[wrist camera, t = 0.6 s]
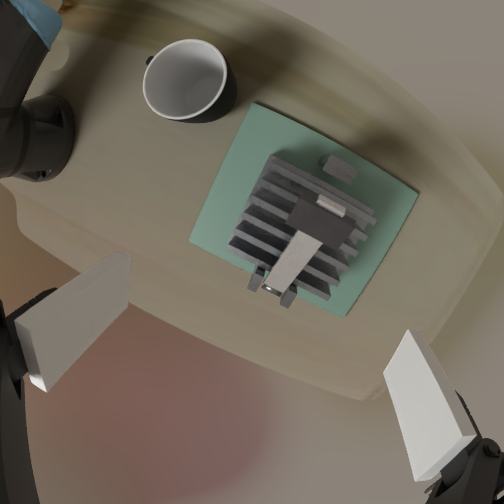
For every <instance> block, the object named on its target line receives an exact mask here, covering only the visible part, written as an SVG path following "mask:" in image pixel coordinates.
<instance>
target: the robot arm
mask: <svg viewBox="0 0 504 504" xmlns="http://www.w3.org/2000/svg"><path fill="white" fill-rule="evenodd" d="M61 27H62V18H61V16H60V15H59V14H58V13H57V12H56V11H55V10H54V9H52V8H51V7H49V6H48V5H46V4H45V3H43V2H42V1H40V0H0V179H1V178H5V177H11V176H13V177H16V178H20V179H24V180H27V181H31V182H42V181H47V180H50V179H52V178H54V177H55V176H57V175H58V174H59V173H60V172H61V171H62V169H63V168H64V166H65V165H66V163H67V161H68V159H69V156H70V153H71V150H72V146H73V141H74V131H75V127H74V118H73V114H72V111H71V108H70V106H69V105H68V103H67V102H66V101H65V100H64V99H63V98H61V97H58V96H53V95H42V96H38V97H35V98H32V99H29V100H26V101H23V100H24V97H25V95H26V93H27V91H28V89H29V87H30V85H31V82H32V81H33V79H34V77H35V75H36V73H37V71H38V69H39V67H40V65H41V63H42V62H43V60H44V58H45V56H46V55H47V53H48V52H49V51H50V50H51V45H52V43H53V42H54V40H55V38H56V36H57V35H58V33H59V31H60V30H61ZM130 259H131V255H129V254H125V253H122V252H119V251H116V252H114V253H113V254H111V255H109V256H108V257H106V258H105V259H103V260H101V261H100V262H98V263H97V264H95V265H94V266H92V267H90V268H89V269H87V270H86V271H84V272H83V273H81V274H80V275H78V276H77V277H75V278H74V279H72V280H71V281H69V282H68V283H66V284H65V285H63V286H62V287H60V288H59V289H57V288H52V289H49V290H46V291H43V292H42V293H40V294H39V295H37V296H36V297H35V298H33V299H31V300H30V301H28V303H26V304H24V305H23V306H21V307H20V308H18V309H17V310H15V311H14V312H13V313H11V314H10V315H8V316H7V317H5V313H4V308H3V303H2V301H1V300H0V504H40V502H39V498H38V494H37V490H36V485H35V481H34V475H33V470H32V465H31V459H30V453H29V444H28V436H27V427H26V413H25V393H24V380H23V376H24V374H26V373H27V372H28V373H29V376H30V379H31V381H32V383H33V384H34V385H36V386H38V387H39V388H41V389H42V390H44V391H45V392H48V391H49V390H50V389H51V387H52V386H53V385H54V384H55V383H56V382H57V381H58V379H60V377H61V376H62V375H63V374H64V373H65V372H66V371H67V370H68V369H69V368H70V366H71V365H72V364H73V363H74V362H75V361H76V360H77V359H78V358H79V357H80V356H81V355H82V353H83V352H84V351H85V350H86V349H87V348H88V347H89V346H90V345H91V344H92V343H93V342H94V341H95V340H96V339H97V338H98V337H99V335H100V334H101V333H102V332H103V331H104V330H105V329H106V328H107V327H108V326H109V325H110V324H111V323H112V322H113V321H114V320H115V319H116V318H117V317H118V316H119V315H120V314H121V313H122V312H123V311H124V310H125V309H126V308H127V307H128V291H129V273H130ZM383 374H384V377H385V380H386V383H387V386H388V389H389V392H390V395H391V398H392V401H393V405H394V407H395V410H396V414H397V417H398V421H399V424H400V427H401V431H402V434H403V438H404V441H405V445H406V449H407V452H408V456H409V460H410V464H411V468H412V471H413V476H414V480H415V481H423V480H430V479H431V478H432V477H433V476H435V475H436V474H437V473H438V472H439V471H440V472H441V475H442V477H441V478H440V479H439V480H437V481H436V482H435V483H434V484H433V485H431V486H430V487H429V488H427V489H426V491H425V492H424V493H427V492H428V491H430V490H431V489H433V490H432V492H431V494H429V498H428V500H427V502H426V504H504V496H502V497H501V498H500V499H498V500H497V495H498V494H499V493H500V492H501V491H503V490H504V452H501V450H500V447H499V446H498V445H497V443H496V442H494V441H493V440H491V439H489V438H484V439H482V436H481V434H480V432H479V430H478V428H477V426H476V424H475V422H474V420H473V418H472V416H471V415H470V412H469V410H468V408H467V406H466V404H465V402H464V400H463V398H462V397H461V396H460V395H459V394H458V393H457V392H456V390H454V388H453V386H452V384H451V383H450V381H449V379H448V377H447V375H446V374H445V372H444V370H443V368H442V367H441V365H440V363H439V361H438V360H437V358H436V356H435V355H434V353H433V351H432V349H431V348H430V346H429V345H428V343H427V341H426V340H425V338H424V336H423V335H422V333H421V332H420V331H417V330H412V329H408V330H407V331H406V333H405V335H404V337H403V339H402V341H401V343H400V344H399V346H398V348H397V350H396V352H395V353H394V355H393V357H392V359H391V360H390V362H389V364H388V365H387V367H386V369H385V370H384V372H383Z"/></svg>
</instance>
